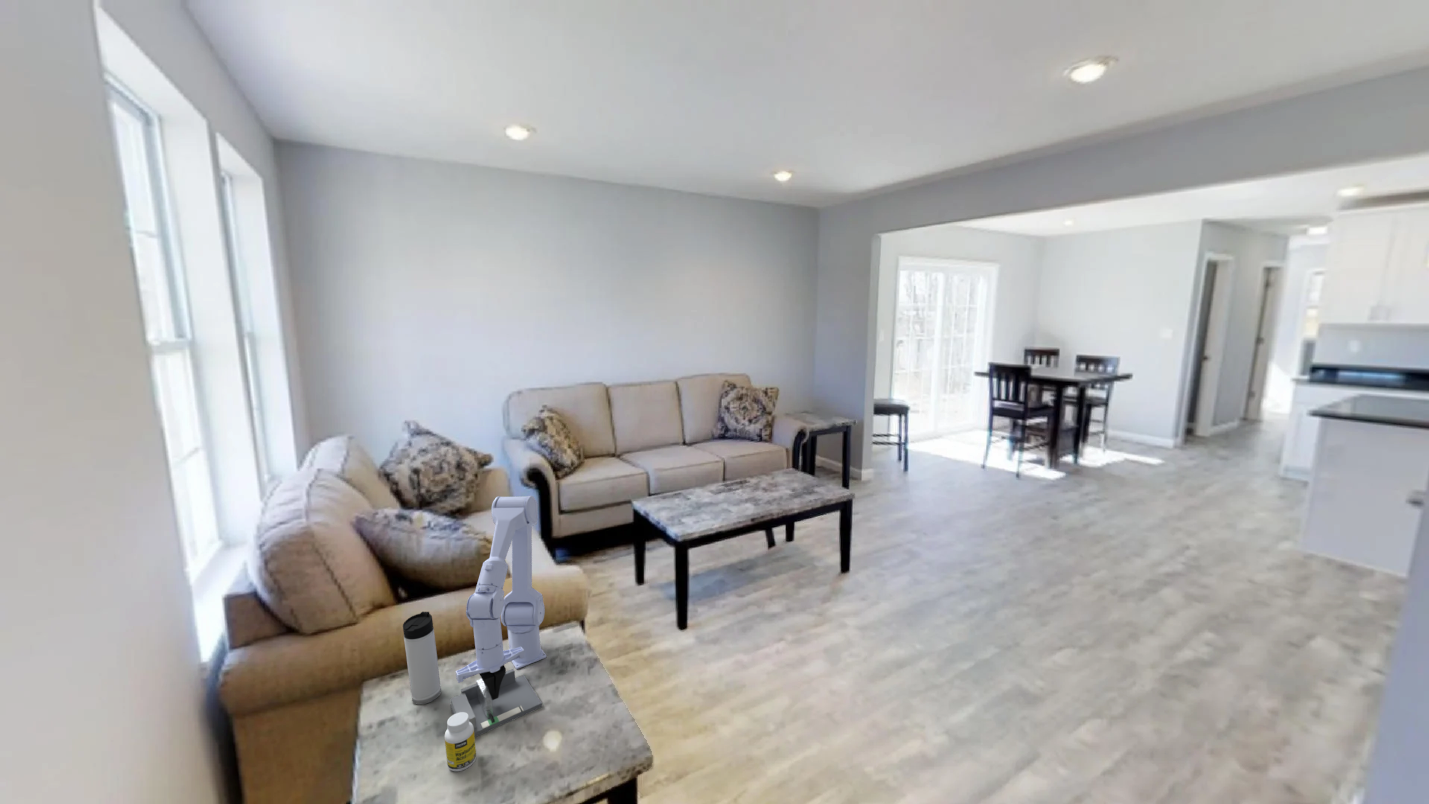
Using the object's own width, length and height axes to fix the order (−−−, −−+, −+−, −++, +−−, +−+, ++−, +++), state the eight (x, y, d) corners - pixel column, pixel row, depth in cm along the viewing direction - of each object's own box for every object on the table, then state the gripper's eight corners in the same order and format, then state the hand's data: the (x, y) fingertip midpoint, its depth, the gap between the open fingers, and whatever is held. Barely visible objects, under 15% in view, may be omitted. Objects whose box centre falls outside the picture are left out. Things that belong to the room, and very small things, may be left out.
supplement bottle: (456, 777, 109) (451, 732, 108) (442, 764, 112) (437, 721, 111) (482, 759, 113) (477, 716, 112) (468, 747, 117) (463, 705, 115)
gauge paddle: (478, 698, 130) (476, 680, 129) (483, 696, 130) (481, 678, 129) (490, 724, 121) (488, 705, 120) (496, 722, 122) (494, 703, 121)
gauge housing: (450, 708, 128) (448, 692, 128) (524, 678, 138) (522, 663, 138) (463, 741, 118) (462, 725, 117) (542, 706, 128) (541, 691, 127)
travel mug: (447, 686, 136) (438, 611, 133) (431, 705, 130) (421, 626, 126) (423, 685, 137) (414, 610, 134) (406, 704, 130) (395, 626, 127)
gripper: (458, 663, 118) (465, 720, 120) (526, 638, 127) (531, 692, 129) (451, 648, 124) (457, 703, 126) (517, 625, 132) (521, 677, 134)
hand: (494, 696), depth 128 cm, fingers closed
